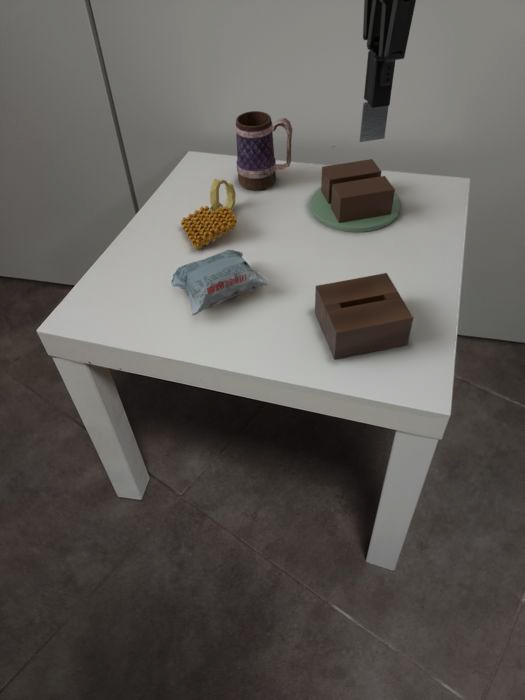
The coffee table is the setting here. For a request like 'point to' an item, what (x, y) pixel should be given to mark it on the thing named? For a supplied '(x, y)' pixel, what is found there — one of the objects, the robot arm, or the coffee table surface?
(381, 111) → the knife
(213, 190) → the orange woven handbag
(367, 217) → the green disc stand
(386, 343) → the knife block
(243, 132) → the mug
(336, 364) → the coffee table surface
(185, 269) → the packaged food
